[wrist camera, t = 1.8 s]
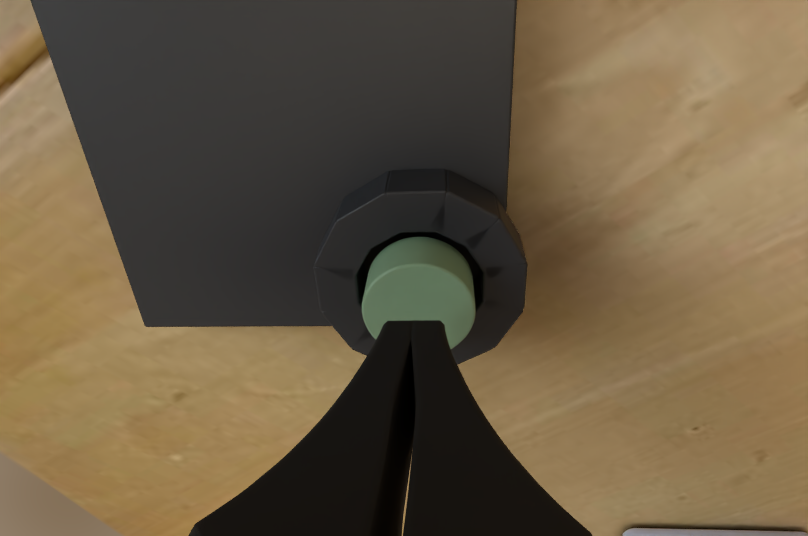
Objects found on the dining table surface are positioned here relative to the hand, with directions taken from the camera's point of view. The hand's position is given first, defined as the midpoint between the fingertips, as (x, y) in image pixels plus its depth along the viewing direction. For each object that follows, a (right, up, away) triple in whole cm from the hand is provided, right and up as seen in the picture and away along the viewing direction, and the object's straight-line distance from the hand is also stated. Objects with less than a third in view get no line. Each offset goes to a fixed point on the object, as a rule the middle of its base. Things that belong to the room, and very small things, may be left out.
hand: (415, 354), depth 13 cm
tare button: (0, +2, +3) cm, 3 cm away
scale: (-3, +7, +3) cm, 8 cm away
